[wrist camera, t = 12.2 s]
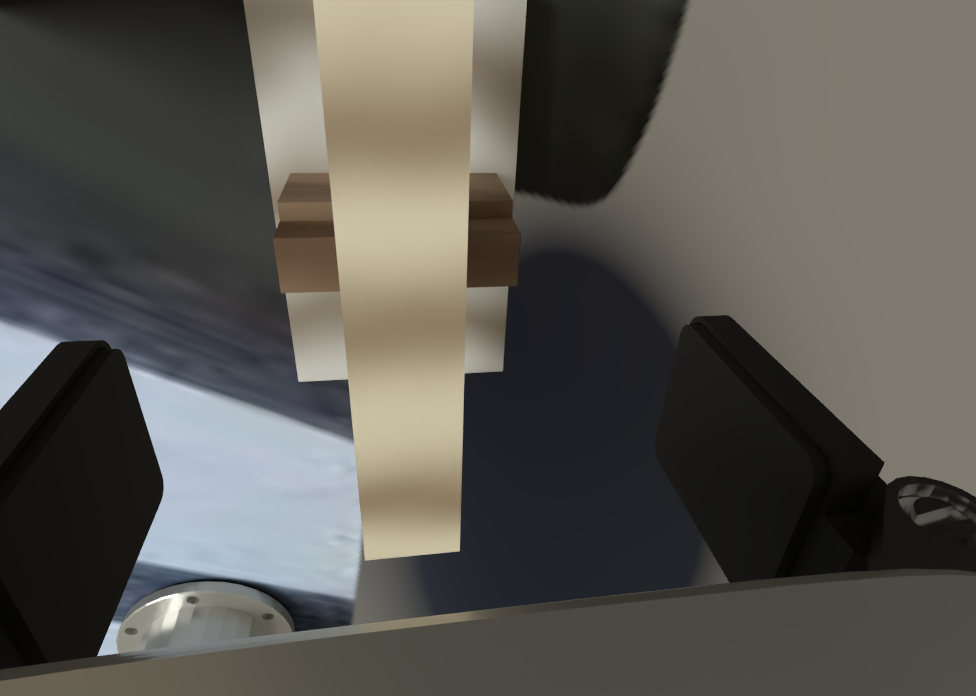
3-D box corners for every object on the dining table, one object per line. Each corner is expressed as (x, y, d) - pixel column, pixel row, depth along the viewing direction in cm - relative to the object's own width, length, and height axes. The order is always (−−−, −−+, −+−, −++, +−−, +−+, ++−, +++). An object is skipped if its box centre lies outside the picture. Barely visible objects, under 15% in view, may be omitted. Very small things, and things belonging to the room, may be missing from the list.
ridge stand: (498, 358, 38) (524, 440, 31) (301, 367, 36) (284, 456, 29) (520, -12, 28) (566, -8, 21) (246, -25, 26) (200, -26, 19)
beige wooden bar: (446, 458, 31) (459, 551, 26) (367, 463, 30) (365, 560, 25) (450, -55, 20) (475, -66, 15) (324, -62, 19) (306, -77, 14)
